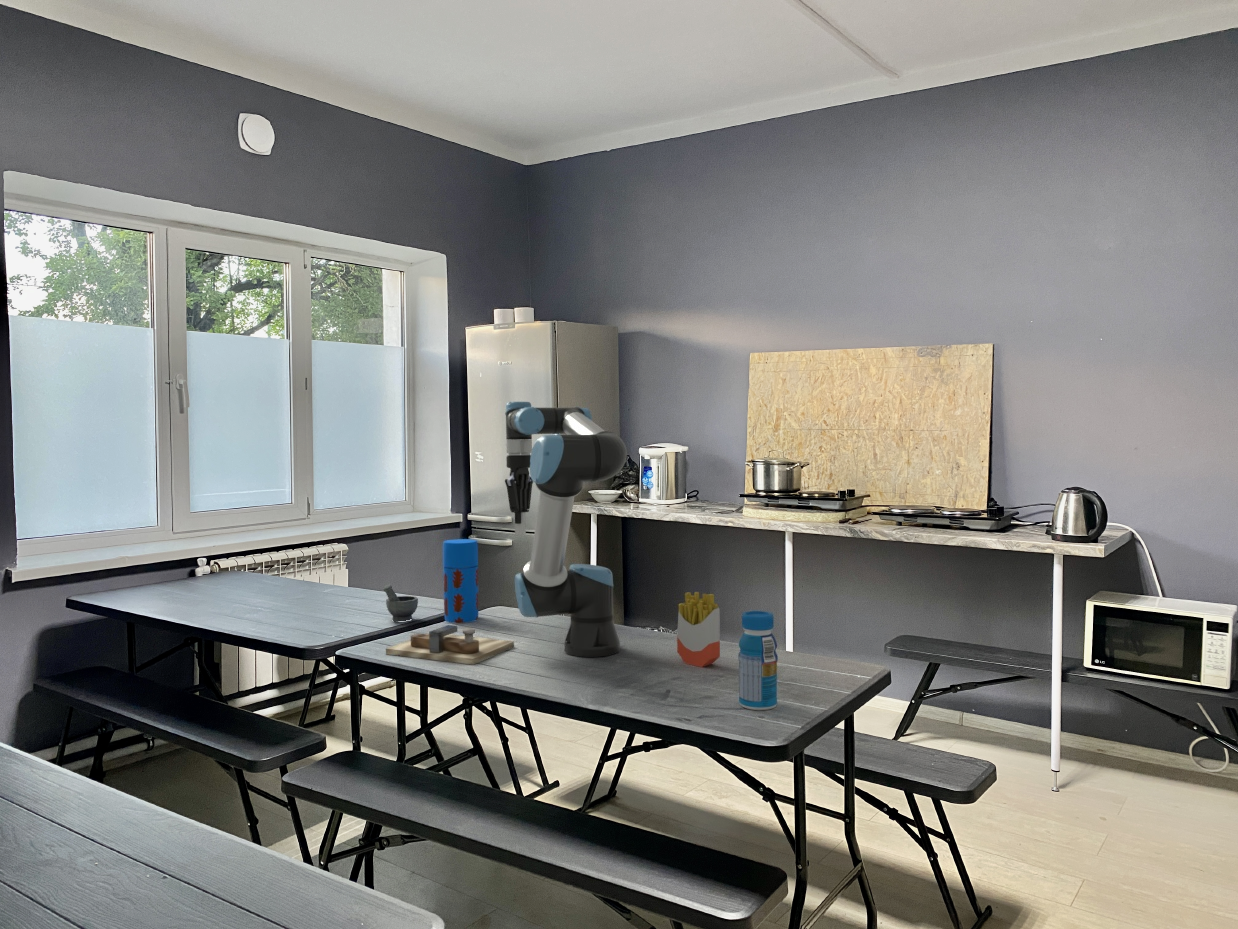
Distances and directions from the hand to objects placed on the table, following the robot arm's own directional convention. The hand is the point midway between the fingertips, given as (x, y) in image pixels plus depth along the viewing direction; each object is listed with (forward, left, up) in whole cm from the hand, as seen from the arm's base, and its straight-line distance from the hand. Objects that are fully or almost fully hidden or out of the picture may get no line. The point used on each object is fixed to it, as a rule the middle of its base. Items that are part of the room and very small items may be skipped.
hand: (520, 534), depth 258 cm
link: (+7, +29, -28) cm, 41 cm away
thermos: (+28, -10, -30) cm, 42 cm away
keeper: (+7, +29, -28) cm, 41 cm away
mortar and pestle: (+45, -1, -30) cm, 54 cm away
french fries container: (-59, +12, -30) cm, 67 cm away
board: (+8, +25, -29) cm, 39 cm away
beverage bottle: (-82, +39, -30) cm, 96 cm away
